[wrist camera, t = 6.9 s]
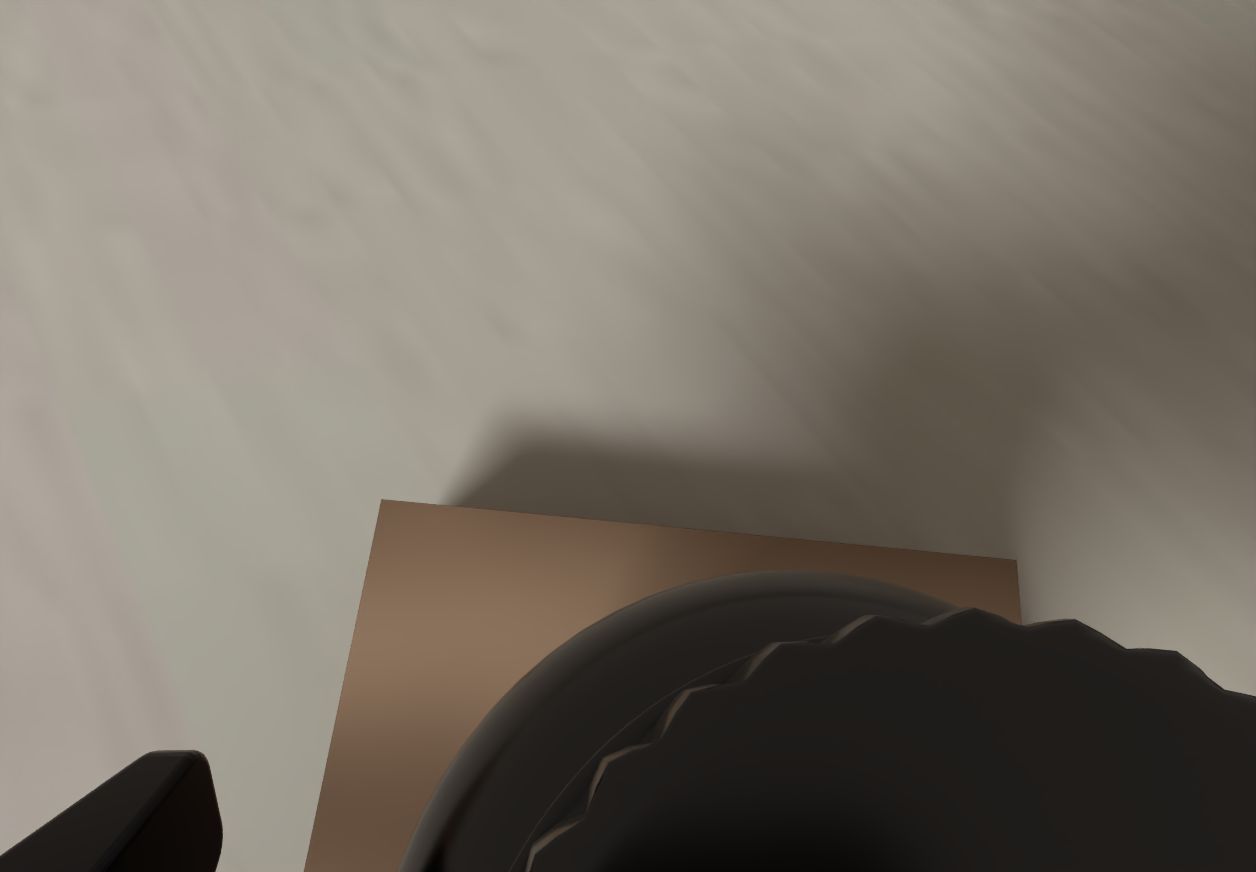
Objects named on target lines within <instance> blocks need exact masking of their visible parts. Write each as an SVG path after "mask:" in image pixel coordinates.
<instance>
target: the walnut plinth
mask: <svg viewBox="0 0 1256 872" xmlns="http://www.w3.org/2000/svg"><path fill="white" fill-rule="evenodd" d="M762 570H809V571H823V572H837V573H843V574H849V575H855V576H861V577H867V578H873V579H877V580H881V581H884V582H888V583H892V584H896V585H899V586H903V587H907V588H911V589H913V590H916V591H919V592H922V593H924V594H927V595H930V596H933V597H935V598H938V599H941V600H943V601H946V602H949V603H951V604H953V605H955V606H957V607H959V608H962V607H975V608H978V609H981V610H984V611H987V612H990V613H993V614H996V615H999V616H1001V617H1003V618H1005V619H1006V620H1008V621H1010V622H1012V623H1015V624H1018V625H1021V626H1022V622H1021V610H1020V598H1019V586H1018V574H1017V562H1016V560H1010V559H1000V558H989V557H979V556H968V555H958V554H947V553H937V552H926V551H916V550H906V549H895V548H885V547H874V546H864V545H853V544H843V543H832V542H822V541H812V540H801V539H791V538H780V537H770V536H759V535H749V534H739V533H728V532H718V531H707V530H697V529H686V528H676V527H665V526H655V525H645V524H634V523H624V522H613V521H603V520H592V519H582V518H572V517H561V516H551V515H540V514H530V513H519V512H509V511H498V510H488V509H478V508H467V507H457V506H446V505H436V504H425V503H415V502H405V501H394V500H384V499H381V504H380V509H379V514H378V518H377V523H376V528H375V533H374V538H373V542H372V547H371V552H370V557H369V562H368V566H367V571H366V576H365V581H364V586H363V590H362V595H361V600H360V605H359V610H358V614H357V619H356V624H355V629H354V634H353V638H352V643H351V648H350V653H349V658H348V662H347V667H346V672H345V677H344V682H343V686H342V691H341V696H340V701H339V706H338V710H337V715H336V720H335V725H334V730H333V734H332V739H331V744H330V749H329V754H328V758H327V763H326V768H325V773H324V778H323V782H322V787H321V792H320V797H319V802H318V806H317V811H316V816H315V821H314V826H313V830H312V835H311V840H310V845H309V850H308V854H307V859H306V864H305V869H304V872H397V871H398V867H399V864H400V862H401V860H402V857H403V855H404V853H405V850H406V848H407V846H408V843H409V841H410V839H411V836H412V834H413V832H414V829H415V827H416V824H417V822H418V820H419V818H420V816H421V814H422V812H423V811H424V809H425V807H426V805H427V803H428V801H429V799H430V797H431V796H432V794H433V792H434V790H435V788H436V786H437V784H438V783H439V781H440V779H441V778H442V776H443V774H444V773H445V771H446V770H447V768H448V767H449V765H450V764H451V762H452V761H453V759H454V758H455V756H456V755H457V753H458V751H459V750H460V748H461V747H462V745H463V744H464V742H465V741H466V740H467V739H468V737H469V736H470V735H471V734H472V732H473V731H474V730H475V729H476V727H477V726H478V725H479V724H480V722H481V721H482V720H483V718H484V717H485V716H486V715H487V713H488V712H489V711H490V710H491V709H492V708H493V706H494V705H495V704H496V703H497V702H498V701H499V700H500V699H501V698H502V697H503V696H504V695H505V694H506V693H507V692H508V691H509V690H510V689H511V688H512V687H513V686H514V685H515V683H516V682H517V681H518V680H519V679H520V678H522V677H523V676H524V675H525V674H526V673H527V672H529V671H530V670H531V669H532V668H533V667H534V666H535V665H537V664H538V663H539V662H540V661H541V660H542V659H544V658H545V657H546V656H547V655H548V654H549V653H551V652H552V651H553V650H555V649H556V648H558V647H559V646H560V645H562V644H563V643H565V642H566V641H568V640H569V639H570V638H572V637H573V636H575V635H576V634H577V633H579V632H580V631H582V630H583V629H585V628H587V627H588V626H590V625H592V624H594V623H595V622H597V621H599V620H601V619H602V618H604V617H606V616H608V615H609V614H611V613H613V612H615V611H617V610H619V609H621V608H623V607H625V606H628V605H630V604H632V603H634V602H637V601H639V600H641V599H643V598H645V597H648V596H650V595H653V594H656V593H659V592H662V591H665V590H668V589H671V588H674V587H677V586H680V585H683V584H686V583H690V582H694V581H699V580H703V579H708V578H712V577H716V576H721V575H728V574H736V573H744V572H752V571H762Z"/></svg>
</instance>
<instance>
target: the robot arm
mask: <svg viewBox="0 0 1256 872" xmlns="http://www.w3.org/2000/svg"><path fill="white" fill-rule="evenodd" d="M222 840H223V828H222V821H221V817H220V812H219V807H218V803H217V798H216V793H215V789H214V784H213V779H212V775H211V770H210V766H209V763H208V760H207V758H206V757H205V755H204V754H203V753H201V752H199V751H196V750H163V751H153V752H149V753H147V754H145V755H143V756H142V757H140V758H138V759H137V760H135V761H134V762H133V763H131V764H130V765H128V766H127V767H126V768H124V769H123V770H121V771H120V772H118V773H117V774H116V775H114V776H113V777H111V778H110V779H108V780H107V781H106V782H104V783H103V784H101V785H100V786H99V787H97V788H96V789H94V790H93V791H91V792H90V793H89V794H87V795H86V796H84V797H83V798H82V799H80V800H79V801H77V802H76V803H74V804H73V805H72V806H70V807H69V808H67V809H66V810H64V811H63V812H62V813H60V814H59V815H57V816H56V817H55V818H53V819H52V820H50V821H49V822H47V823H46V824H45V825H43V826H42V827H40V828H39V829H38V830H36V831H35V832H33V833H32V834H30V835H29V836H28V837H26V838H25V839H23V840H22V841H20V842H19V843H18V844H16V845H15V846H13V847H12V848H11V849H9V850H8V851H6V852H5V853H3V854H2V855H1V856H0V872H215V871H216V868H217V864H218V861H219V858H220V854H221V848H222Z"/></svg>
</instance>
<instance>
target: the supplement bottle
mask: <svg viewBox="0 0 1256 872" xmlns="http://www.w3.org/2000/svg"><path fill="white" fill-rule="evenodd" d="M397 872H1256V697H1255V696H1252V695H1247V694H1242V693H1238V692H1233V691H1228V690H1224V689H1223V688H1222V687H1220V686H1219V685H1218V684H1216V683H1215V682H1214V681H1212V680H1211V679H1210V678H1208V677H1207V676H1206V674H1205V673H1204V672H1203V671H1202V670H1201V669H1200V668H1199V667H1197V666H1196V665H1195V664H1193V663H1192V662H1191V661H1189V660H1188V659H1187V658H1185V657H1184V656H1183V655H1181V654H1180V653H1179V652H1177V651H1172V650H1161V649H1151V648H1135V649H1126V648H1124V647H1123V646H1121V645H1119V644H1118V643H1116V642H1115V641H1113V640H1111V639H1110V638H1108V637H1107V636H1105V635H1103V634H1102V633H1100V632H1098V631H1097V630H1095V629H1093V628H1091V627H1089V626H1087V625H1085V624H1083V623H1081V622H1079V621H1078V620H1076V619H1058V620H1051V621H1044V622H1037V623H1032V624H1028V625H1025V626H1021V625H1018V624H1015V623H1012V622H1010V621H1008V620H1006V619H1005V618H1003V617H1001V616H999V615H996V614H993V613H990V612H987V611H984V610H981V609H978V608H975V607H962V608H959V607H957V606H955V605H953V604H951V603H949V602H946V601H943V600H941V599H938V598H935V597H933V596H930V595H927V594H924V593H922V592H919V591H916V590H913V589H911V588H907V587H903V586H899V585H896V584H892V583H888V582H884V581H881V580H877V579H873V578H867V577H861V576H855V575H849V574H843V573H837V572H823V571H809V570H762V571H752V572H744V573H736V574H728V575H721V576H716V577H712V578H708V579H703V580H699V581H694V582H690V583H686V584H683V585H680V586H677V587H674V588H671V589H668V590H665V591H662V592H659V593H656V594H653V595H650V596H648V597H645V598H643V599H641V600H639V601H637V602H634V603H632V604H630V605H628V606H625V607H623V608H621V609H619V610H617V611H615V612H613V613H611V614H609V615H608V616H606V617H604V618H602V619H601V620H599V621H597V622H595V623H594V624H592V625H590V626H588V627H587V628H585V629H583V630H582V631H580V632H579V633H577V634H576V635H575V636H573V637H572V638H570V639H569V640H568V641H566V642H565V643H563V644H562V645H560V646H559V647H558V648H556V649H555V650H553V651H552V652H551V653H549V654H548V655H547V656H546V657H545V658H544V659H542V660H541V661H540V662H539V663H538V664H537V665H535V666H534V667H533V668H532V669H531V670H530V671H529V672H527V673H526V674H525V675H524V676H523V677H522V678H520V679H519V680H518V681H517V682H516V683H515V685H514V686H513V687H512V688H511V689H510V690H509V691H508V692H507V693H506V694H505V695H504V696H503V697H502V698H501V699H500V700H499V701H498V702H497V703H496V704H495V705H494V706H493V708H492V709H491V710H490V711H489V712H488V713H487V715H486V716H485V717H484V718H483V720H482V721H481V722H480V724H479V725H478V726H477V727H476V729H475V730H474V731H473V732H472V734H471V735H470V736H469V737H468V739H467V740H466V741H465V742H464V744H463V745H462V747H461V748H460V750H459V751H458V753H457V755H456V756H455V758H454V759H453V761H452V762H451V764H450V765H449V767H448V768H447V770H446V771H445V773H444V774H443V776H442V778H441V779H440V781H439V783H438V784H437V786H436V788H435V790H434V792H433V794H432V796H431V797H430V799H429V801H428V803H427V805H426V807H425V809H424V811H423V812H422V814H421V816H420V818H419V820H418V822H417V824H416V827H415V829H414V832H413V834H412V836H411V839H410V841H409V843H408V846H407V848H406V850H405V853H404V855H403V857H402V860H401V862H400V864H399V867H398V871H397Z"/></svg>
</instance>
